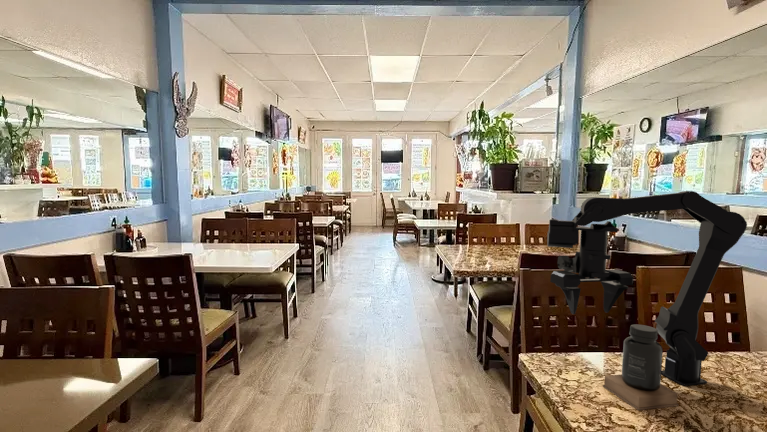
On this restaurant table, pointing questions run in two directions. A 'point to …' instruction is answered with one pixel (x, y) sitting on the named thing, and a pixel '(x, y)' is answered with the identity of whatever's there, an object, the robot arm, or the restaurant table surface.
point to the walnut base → (640, 394)
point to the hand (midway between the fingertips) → (589, 312)
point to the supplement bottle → (642, 358)
